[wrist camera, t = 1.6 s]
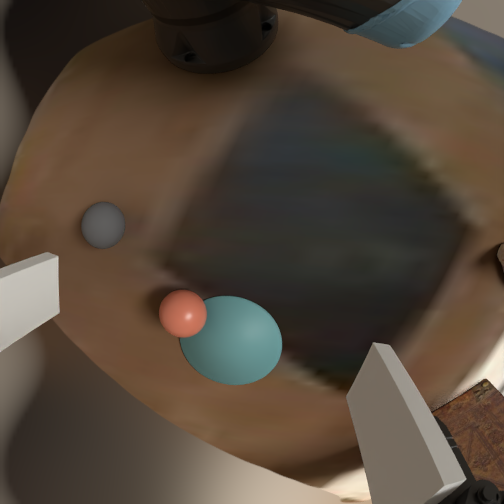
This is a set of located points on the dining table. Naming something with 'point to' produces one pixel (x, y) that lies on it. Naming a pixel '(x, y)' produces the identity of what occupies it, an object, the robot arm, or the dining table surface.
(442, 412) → the book
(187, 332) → the object ball
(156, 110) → the dining table surface
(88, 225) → the gray ball
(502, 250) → the mineral specimen
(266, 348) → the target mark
